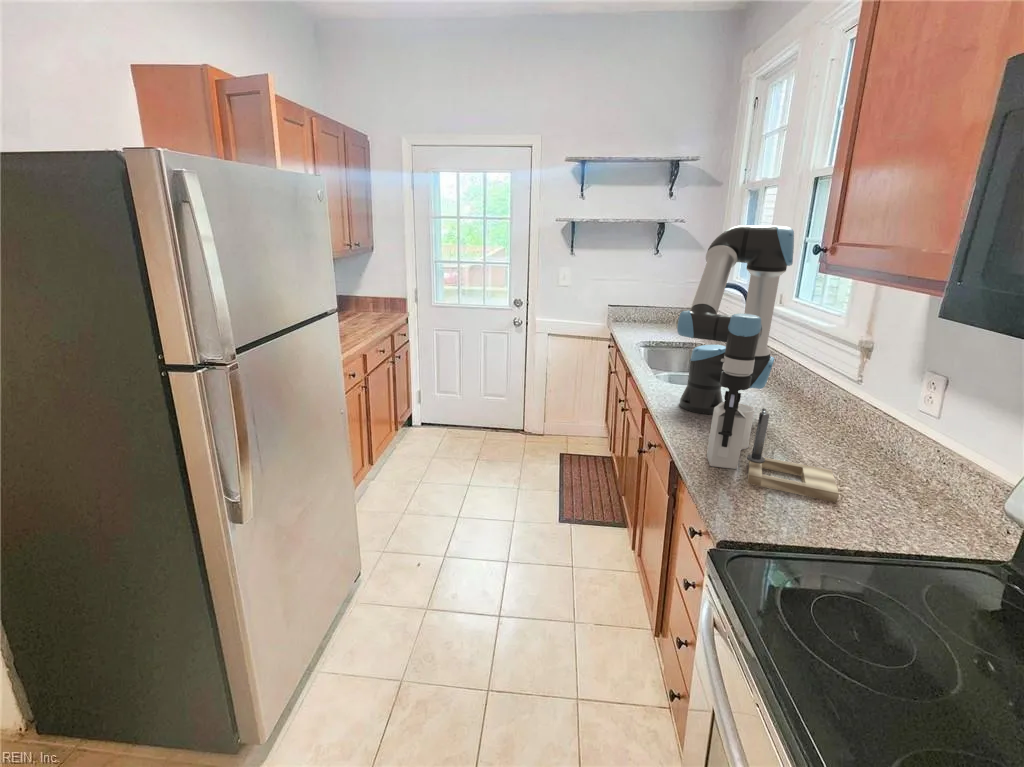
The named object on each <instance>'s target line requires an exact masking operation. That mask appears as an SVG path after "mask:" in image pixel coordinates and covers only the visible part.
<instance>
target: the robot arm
mask: <svg viewBox="0 0 1024 767" xmlns="http://www.w3.org/2000/svg"><path fill="white" fill-rule="evenodd" d="M794 243H795V231H794V229H793V228H792V227H789V226H783V225H748V224H747V225H746V224H745V225H744V224H743V225H737V226H733V227H731V228H728V229H726V230H725V231H723V232H721V233H720V234H719V235H718V236H717V237H716V238H715V239H714V240H713V241H712V242H711V243H710V245H709V247H708V249H707V250H706V251H707V252H706V254H705V260H706V261H705V262H706V264H705V267H704V268H703V269H704V270H703V273H702V276H701V278H700V281H699V284H698V287H697V289H696V292H695V295H694V298H693V300H692V304H691V307H690V309H689V310H683V311H681V312H680V313H679V316H678V320H677V328H676V329H677V334H678V335H679V336H680V337H684V338H690V339H696V340H697V339H698V340H707V341H715V342H722V343H725V345H722V344H705V345H698V346H696V347H694V348H693V349H692V351H691V356H690V359H689V360H690V363H689V369H688V370H689V371H688V378H687V383H686V384H687V385H686V386H685V388H684V390H683V392H682V395H681V397H680V399H679V406H680V407H681V408H682V409H684V410H686V411H689V412H693V413H695V414H696V413H697V414H702V415H713V412H714V407H716V406H718V404H720V403H721V402H724V401H725V404H724V409H725V415H724V421H723V427H722V432H719V433H718V434H720V435H721V436H720V442H719V448H718V454H717V456H720V457H725V458H728V453H729V448H730V442H731V436H732V428H733V422H734V416H735V412H736V411H737V410H738V404H740V401H741V398H742V393H741V392H739V391H746V390H749V389H757V390H761V389H764V388H765V387H766V385H767V382H768V380H769V376H770V374H771V372H772V368H773V365H774V362H775V357H773V356H771V354H772V351H771V349H769V347H768V342H769V338H770V330H771V324H772V320H773V315H774V309H775V304H776V298H777V293H778V289H779V288H778V287H779V281H780V277H781V276H782V275H783V274H785V273H786V272H787V268H788V267H790V266H792V265H793V263H794V247H795V244H794ZM737 263H741V264H742V263H743V264H744V263H745V264H746V270H747V271H748V273H750V274H749V282H748V289H747V295H746V300H745V305H744V306H745V307H744V313H734V314H732V315H728V314H718V313H719V308H720V306H721V304H722V303H721V302H722V300H723V295H724V292H725V290H726V286H727V282H728V280H729V277H730V273H731V270H732V268H733V267H734V266H735V265H736V264H737ZM722 387H723V388H726V389H728V390H725V393H724V399H723V395H722Z"/></svg>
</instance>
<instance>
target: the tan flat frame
mask: <svg viewBox="0 0 1024 767" xmlns="http://www.w3.org/2000/svg"><path fill="white" fill-rule="evenodd" d="M763 457H764V458H765V462H764V463H754V462H751V461H749V460H748V470H747V484H748V485H753V486H757V487H761V488H767V489H773V490H776V491H780V492H781V491H782V492H785V493H790V494H794V495H800V496H805V497H808V498H809V497H810V498H814V499H818V500H822V501H823V500H824V501H828V502H833V503H838V498H839V495H840V492H839V489H838V485H837V483H836V479H835V477H834V473H833V470H832V469H828V468H822V467H817V466H813V465H812V466H811V465H807V464H802V463H796V462H792V461H786V460H781V459H776V458H770V457H765V456H763ZM763 469H766V470H769V471H776V472H780V473H786V474H791V475H795V476H800V478H801V481H796V480H791V479H787V478H783V477H777V476H771V475H767V474H763Z"/></svg>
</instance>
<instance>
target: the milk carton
mask: <svg viewBox="0 0 1024 767" xmlns="http://www.w3.org/2000/svg"><path fill="white" fill-rule="evenodd" d="M724 404H725V400H723V402H721V403H720V404H718V406H716V407H714V412H713V414H712V418H711V426H710V432H709V437H708V444H707V452H706V458H707V461H708V463H709V466H710V467H716V468H725V469H731V470H737V469H738V467H739V462H740V455H741V450H742V449H741V445H742V440H743V434H744V429H745V423H746V418H745V416H744V415H743V413H742V411H741V410H740V409H739V408H738V410H737V411H736V412H735V416H734V422H733V428H732V436H731V442H730V448H729V453H728V458H725V457H720V456H717V454H718V448H719V442H720V436H721V435H720V434H718V433H719V432H722V427H723V421H724V415H725V409H724Z"/></svg>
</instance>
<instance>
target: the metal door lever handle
mask: <svg viewBox="0 0 1024 767" xmlns="http://www.w3.org/2000/svg"><path fill="white" fill-rule="evenodd" d="M769 420H770V413H768V412H767V409H766V408H764V407H763V408H762V409H761V412H759V415H758V421H757V426H756V430H755V436H754V441H753V447H752V451H751V454H748V455H747V456H746V458H747V460H748V462H749V461H751V462H754V463H764V462H765V458H764V457H765V456H763V451H764V445H765V442H766V441H765V440H766V436H767V430H768V425H769Z"/></svg>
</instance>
